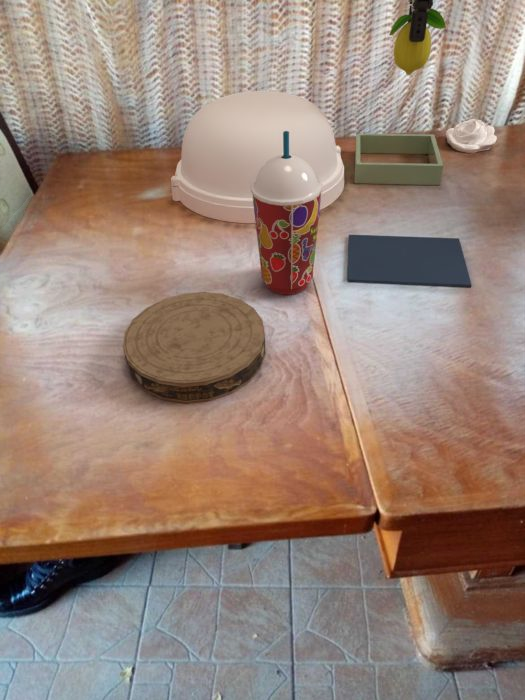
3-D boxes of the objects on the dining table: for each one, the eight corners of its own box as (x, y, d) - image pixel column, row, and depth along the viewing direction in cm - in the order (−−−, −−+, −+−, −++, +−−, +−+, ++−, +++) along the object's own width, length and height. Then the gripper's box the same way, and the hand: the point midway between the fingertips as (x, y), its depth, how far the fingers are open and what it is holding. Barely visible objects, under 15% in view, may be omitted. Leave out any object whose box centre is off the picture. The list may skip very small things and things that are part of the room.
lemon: (438, 77, 84) (450, 2, 77) (404, 83, 82) (414, 6, 76) (415, 67, 88) (424, -5, 82) (383, 72, 87) (390, -1, 81)
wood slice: (196, 296, 71) (193, 277, 69) (293, 344, 63) (293, 324, 61) (99, 361, 62) (92, 342, 60) (197, 426, 54) (194, 406, 52)
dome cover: (307, 140, 111) (308, 65, 101) (381, 200, 89) (391, 112, 80) (154, 167, 103) (141, 89, 94) (195, 240, 82) (183, 148, 72)
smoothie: (327, 294, 70) (336, 139, 57) (266, 306, 69) (260, 151, 55) (305, 261, 76) (308, 115, 63) (249, 272, 75) (239, 124, 61)
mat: (458, 240, 79) (459, 238, 79) (471, 287, 70) (471, 284, 70) (348, 236, 81) (348, 234, 81) (347, 281, 72) (347, 279, 72)
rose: (509, 118, 104) (489, 133, 98) (503, 141, 106) (483, 157, 101) (460, 109, 109) (438, 123, 103) (455, 131, 111) (434, 146, 106)
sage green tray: (431, 152, 104) (434, 134, 101) (439, 185, 93) (443, 165, 91) (354, 151, 106) (356, 133, 103) (354, 183, 95) (355, 164, 92)
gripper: (471, -110, 65) (445, 48, 76) (456, -113, 76) (435, 26, 87) (407, -107, 66) (391, 49, 77) (401, -110, 77) (388, 27, 88)
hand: (415, 36), depth 82 cm, fingers closed on lemon, 4 cm apart
